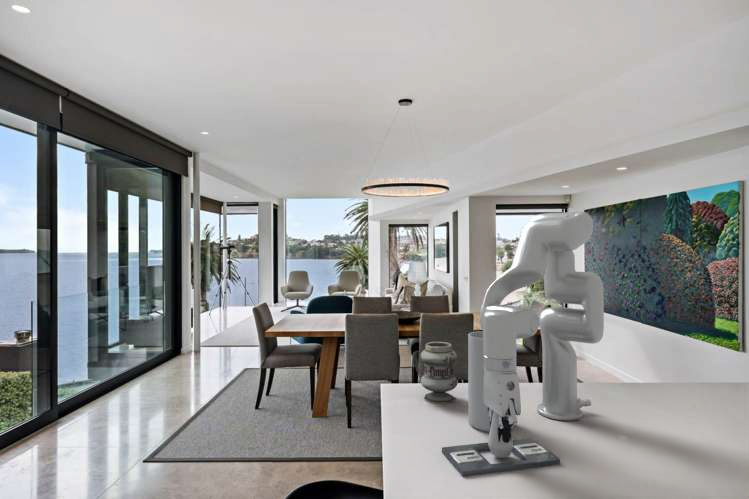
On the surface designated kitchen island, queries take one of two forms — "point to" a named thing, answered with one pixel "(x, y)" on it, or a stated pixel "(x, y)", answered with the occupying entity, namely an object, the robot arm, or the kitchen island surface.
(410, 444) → the kitchen island surface
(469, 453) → the label board
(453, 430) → the kitchen island surface
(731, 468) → the kitchen island surface
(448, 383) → the apothecary jar
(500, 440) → the salt shaker
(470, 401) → the cylinder vase
